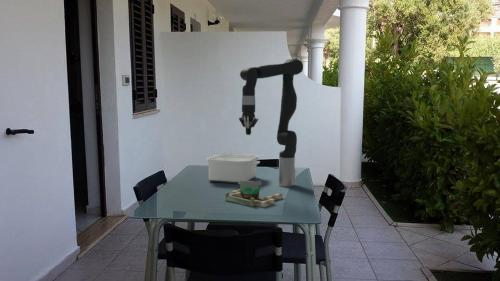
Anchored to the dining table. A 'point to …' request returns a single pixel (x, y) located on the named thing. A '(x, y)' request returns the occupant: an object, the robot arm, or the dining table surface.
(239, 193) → the trap lane
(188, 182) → the dining table surface
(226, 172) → the pot
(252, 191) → the food container
